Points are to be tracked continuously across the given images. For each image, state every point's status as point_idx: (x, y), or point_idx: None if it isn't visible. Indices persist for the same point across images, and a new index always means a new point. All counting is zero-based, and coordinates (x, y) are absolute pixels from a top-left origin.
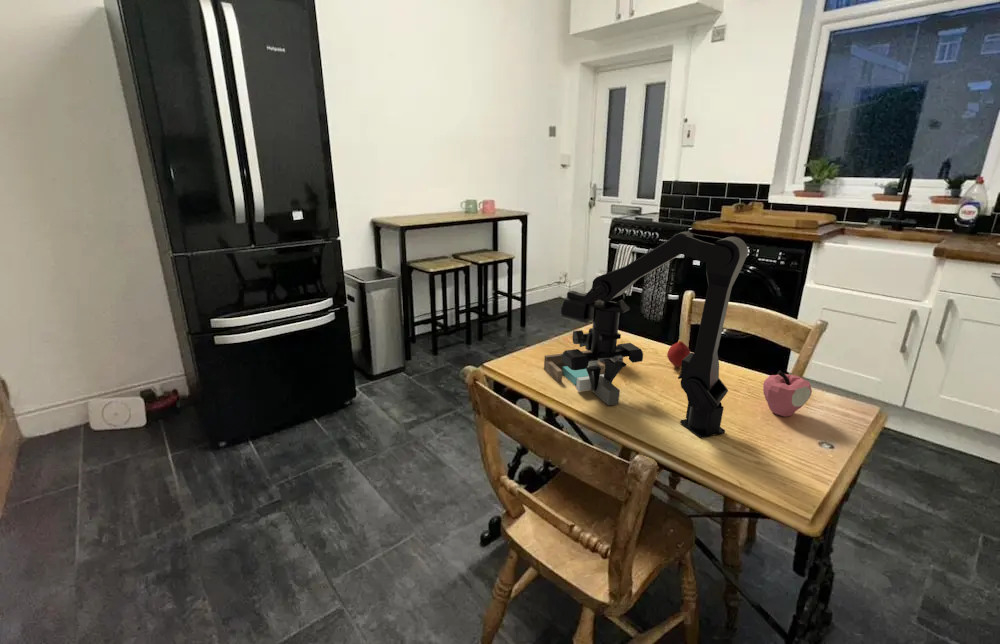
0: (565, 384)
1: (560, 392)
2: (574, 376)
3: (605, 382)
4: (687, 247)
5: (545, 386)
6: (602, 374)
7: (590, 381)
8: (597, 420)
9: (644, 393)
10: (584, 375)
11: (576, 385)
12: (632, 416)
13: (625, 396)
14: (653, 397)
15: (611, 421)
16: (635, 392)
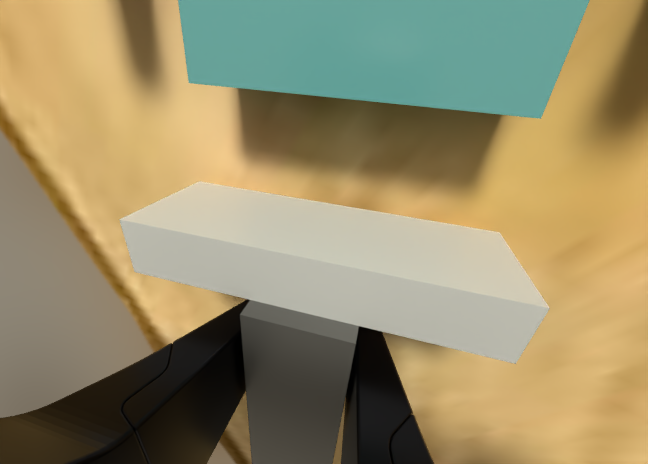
0: (168, 31)
1: (109, 148)
2: (188, 46)
3: (298, 424)
4: None
5: (14, 4)
6: (430, 285)
7: (220, 319)
8: None
9: (630, 413)
10: (313, 67)
11: (179, 193)
12: (340, 454)
13: (466, 371)
14: (617, 456)
15: (246, 428)
16: (587, 378)
